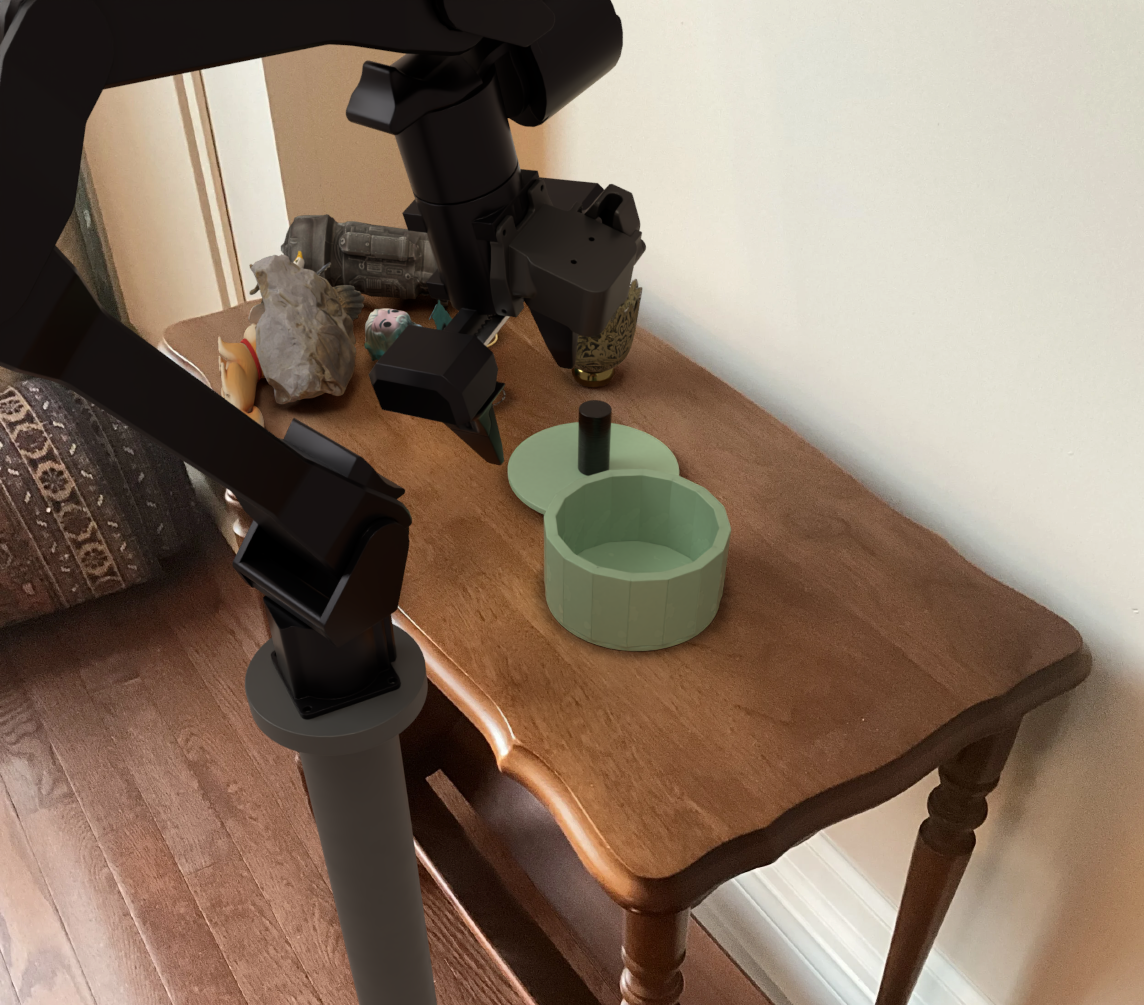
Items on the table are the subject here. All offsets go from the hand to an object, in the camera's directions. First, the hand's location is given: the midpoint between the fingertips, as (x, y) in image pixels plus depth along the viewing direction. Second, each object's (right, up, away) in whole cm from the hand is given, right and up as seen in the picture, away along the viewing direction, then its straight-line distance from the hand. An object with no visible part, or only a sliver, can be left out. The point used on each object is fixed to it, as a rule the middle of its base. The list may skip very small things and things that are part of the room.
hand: (532, 413), depth 73 cm
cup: (+4, +11, +26) cm, 28 cm away
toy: (-26, +9, +21) cm, 35 cm away
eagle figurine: (-25, +21, +30) cm, 45 cm away
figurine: (-8, +15, +23) cm, 28 cm away
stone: (-19, +13, +26) cm, 35 cm away
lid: (+4, 0, +15) cm, 16 cm away
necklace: (-6, +9, +24) cm, 27 cm away
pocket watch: (-6, +16, +32) cm, 36 cm away
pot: (+7, -10, +7) cm, 14 cm away
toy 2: (-8, +23, +32) cm, 40 cm away
